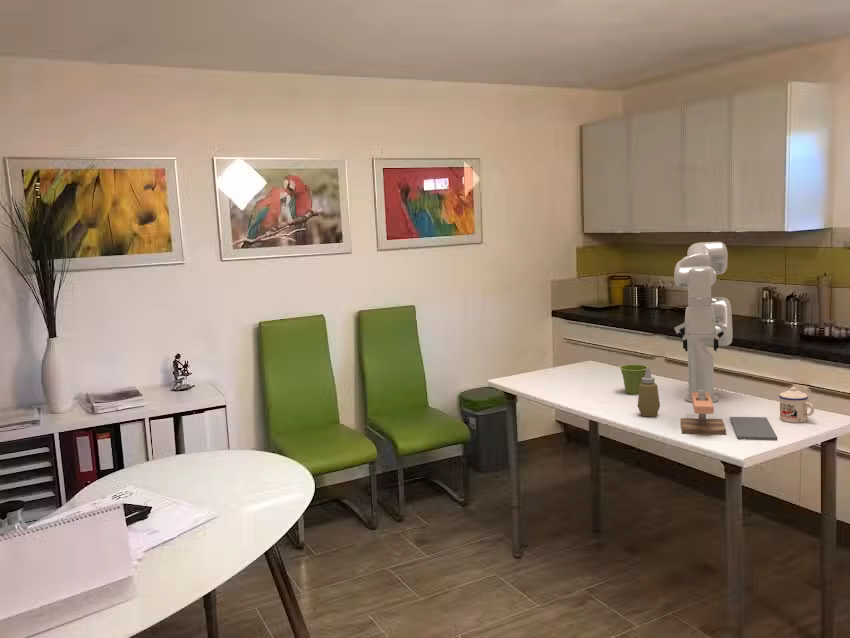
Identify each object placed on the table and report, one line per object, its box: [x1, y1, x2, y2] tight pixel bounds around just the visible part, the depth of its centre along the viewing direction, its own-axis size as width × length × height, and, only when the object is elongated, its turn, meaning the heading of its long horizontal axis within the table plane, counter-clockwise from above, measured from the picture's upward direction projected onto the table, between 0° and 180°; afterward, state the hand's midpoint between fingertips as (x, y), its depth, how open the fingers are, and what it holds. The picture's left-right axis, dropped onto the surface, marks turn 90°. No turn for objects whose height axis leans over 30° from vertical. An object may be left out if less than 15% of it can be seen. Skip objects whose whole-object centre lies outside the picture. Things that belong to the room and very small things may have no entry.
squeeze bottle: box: [637, 367, 661, 418], centre depth 269 cm, size 8×8×18 cm
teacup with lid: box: [778, 386, 815, 424], centre depth 250 cm, size 12×9×12 cm
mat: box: [729, 416, 778, 441], centre depth 244 cm, size 24×12×1 cm, turn 162°
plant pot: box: [619, 363, 649, 395], centre depth 304 cm, size 12×12×11 cm
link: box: [691, 392, 715, 415], centre depth 248 cm, size 20×6×2 cm, turn 162°
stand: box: [680, 390, 727, 436], centre depth 248 cm, size 14×14×14 cm
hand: (700, 350), depth 253 cm, fingers open, 9 cm apart
